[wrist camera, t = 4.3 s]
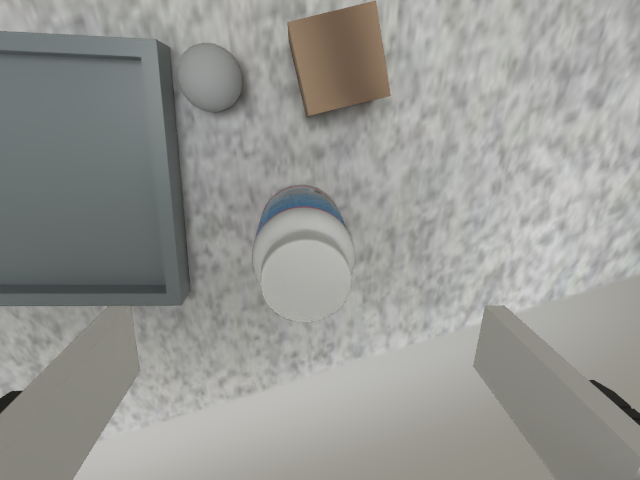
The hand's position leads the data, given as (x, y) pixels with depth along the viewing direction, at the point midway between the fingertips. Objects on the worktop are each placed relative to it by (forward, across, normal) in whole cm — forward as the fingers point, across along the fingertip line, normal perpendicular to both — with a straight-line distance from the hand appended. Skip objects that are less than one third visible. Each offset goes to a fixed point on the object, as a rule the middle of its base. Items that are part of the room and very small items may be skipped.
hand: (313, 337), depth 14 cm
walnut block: (+16, +2, +11) cm, 20 cm away
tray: (+16, -18, +3) cm, 24 cm away
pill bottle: (+16, 0, 0) cm, 16 cm away
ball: (+16, -6, +10) cm, 20 cm away
